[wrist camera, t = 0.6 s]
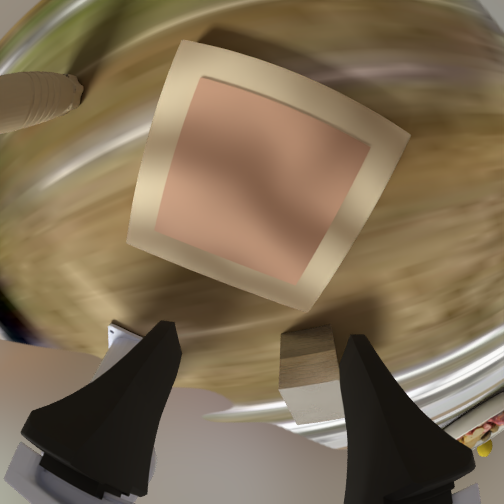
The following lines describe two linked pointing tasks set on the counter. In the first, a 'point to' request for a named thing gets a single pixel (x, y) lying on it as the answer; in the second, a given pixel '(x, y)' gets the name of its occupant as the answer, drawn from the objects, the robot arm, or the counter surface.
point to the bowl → (479, 423)
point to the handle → (36, 98)
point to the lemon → (485, 448)
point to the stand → (258, 174)
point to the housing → (310, 375)
